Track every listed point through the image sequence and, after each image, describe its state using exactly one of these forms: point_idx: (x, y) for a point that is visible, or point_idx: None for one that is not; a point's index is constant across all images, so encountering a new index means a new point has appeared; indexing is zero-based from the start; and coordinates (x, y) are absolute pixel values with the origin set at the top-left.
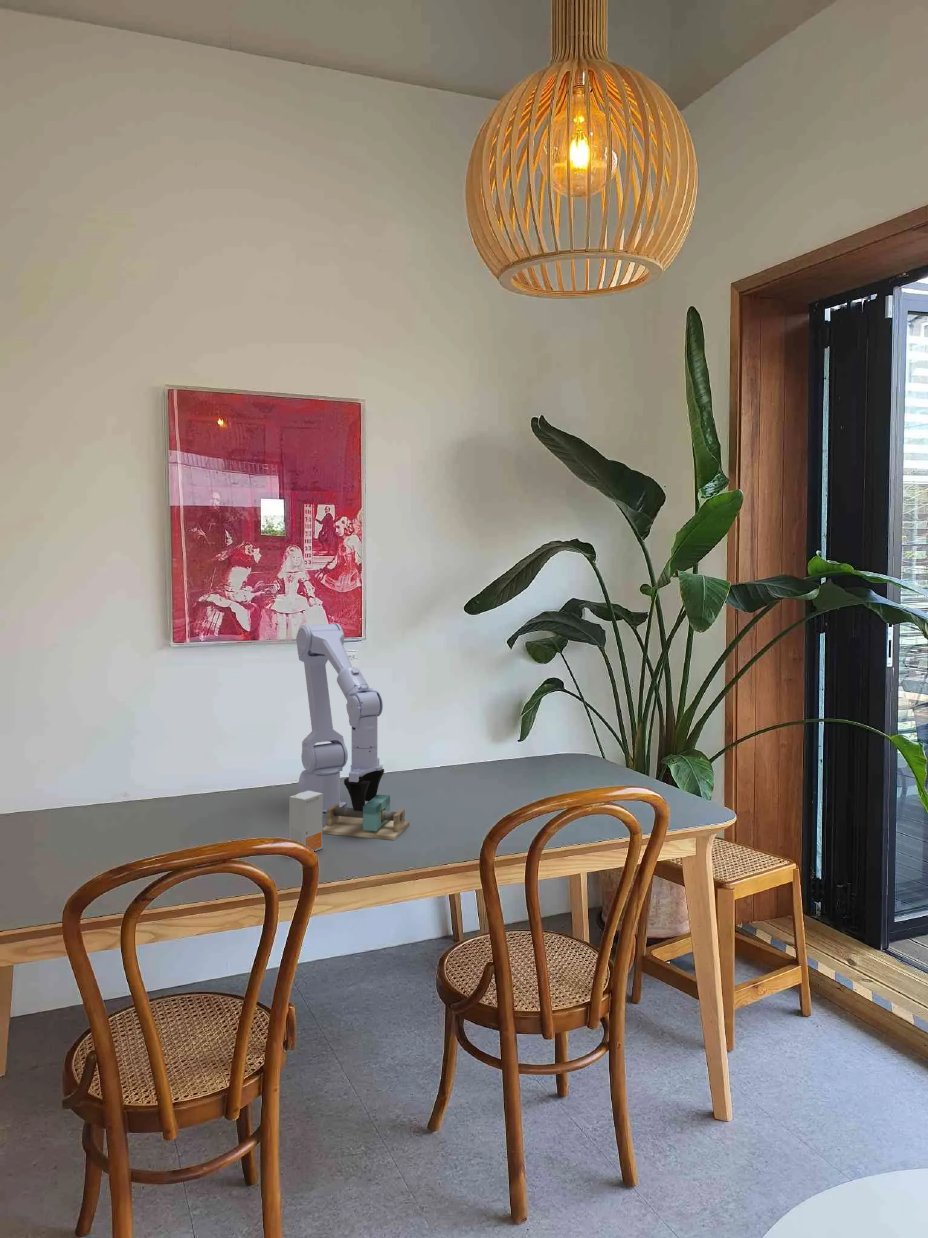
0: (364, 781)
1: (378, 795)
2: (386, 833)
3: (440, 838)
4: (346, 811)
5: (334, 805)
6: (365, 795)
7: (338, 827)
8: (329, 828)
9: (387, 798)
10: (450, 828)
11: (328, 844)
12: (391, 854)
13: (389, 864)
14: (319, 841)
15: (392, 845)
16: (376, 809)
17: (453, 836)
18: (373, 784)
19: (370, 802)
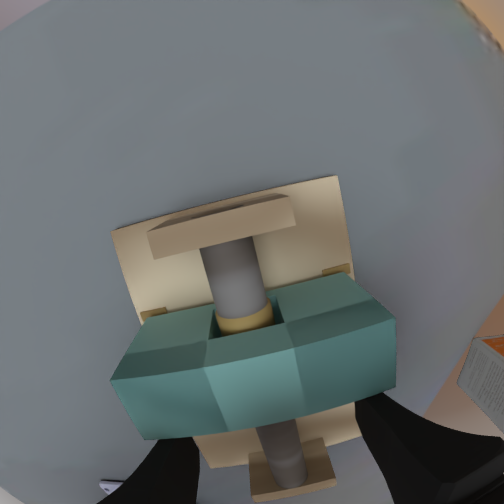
0: (469, 490)
1: (155, 431)
2: (315, 230)
3: (210, 25)
4: (300, 450)
5: (277, 495)
6: (401, 428)
7: (325, 417)
8: (345, 427)
9: (158, 372)
10: (79, 65)
11: (440, 351)
12: (452, 119)
13: (500, 98)
14: (496, 346)
15: (385, 153)
16: (381, 313)
17: (164, 4)
18: (166, 499)
19: (312, 402)
